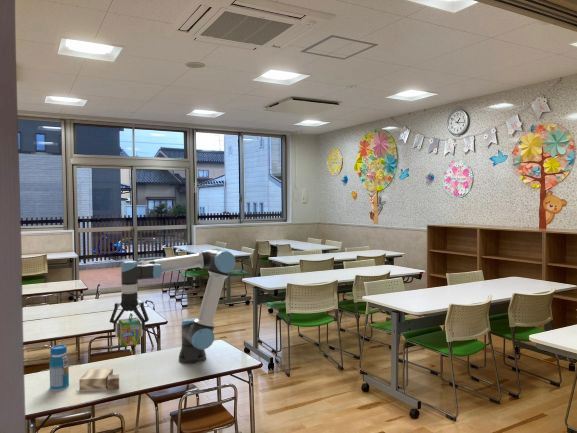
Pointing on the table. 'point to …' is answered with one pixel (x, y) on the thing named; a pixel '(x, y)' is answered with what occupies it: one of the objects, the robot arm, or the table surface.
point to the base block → (95, 379)
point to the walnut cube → (113, 382)
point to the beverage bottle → (59, 368)
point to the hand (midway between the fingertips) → (129, 336)
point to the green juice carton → (129, 331)
